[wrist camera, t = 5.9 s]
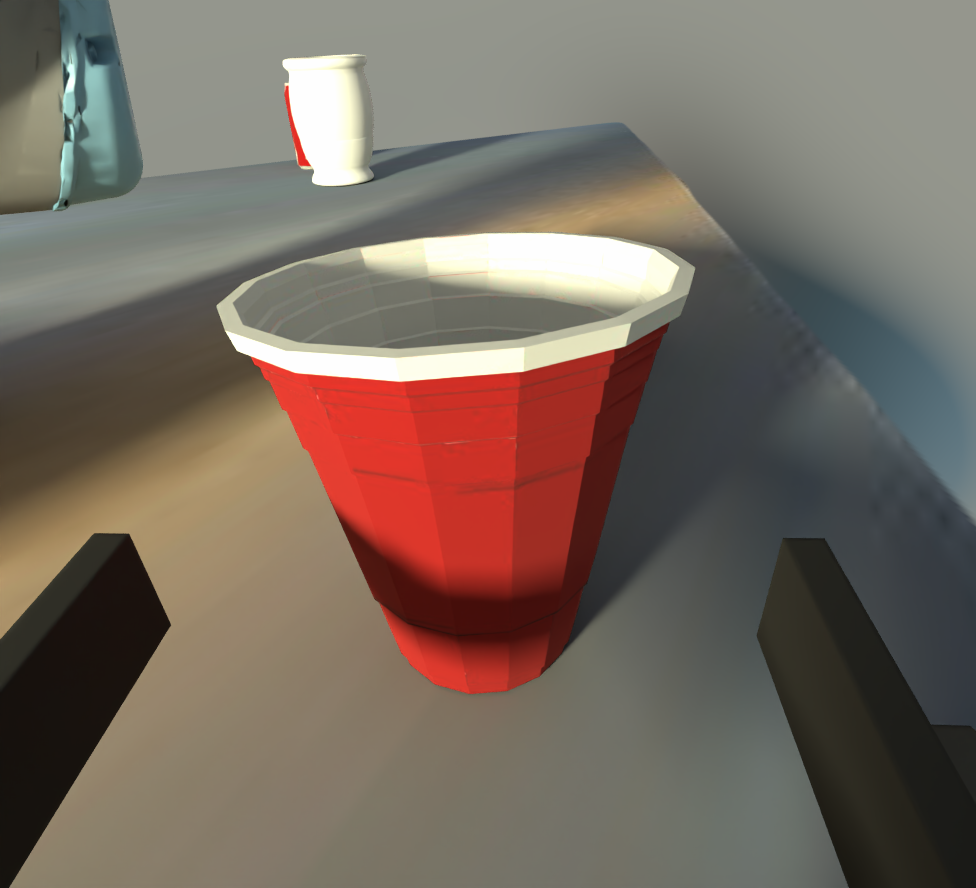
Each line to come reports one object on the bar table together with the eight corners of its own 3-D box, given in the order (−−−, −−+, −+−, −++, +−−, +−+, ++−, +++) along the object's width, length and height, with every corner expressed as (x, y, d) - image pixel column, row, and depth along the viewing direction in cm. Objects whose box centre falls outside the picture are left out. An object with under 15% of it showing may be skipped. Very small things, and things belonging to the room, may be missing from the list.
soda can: (312, 163, 104) (296, 79, 98) (340, 163, 103) (326, 78, 96) (291, 169, 100) (274, 81, 94) (320, 169, 98) (305, 80, 92)
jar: (374, 171, 95) (358, 53, 87) (388, 183, 87) (372, 54, 78) (301, 179, 92) (278, 58, 84) (309, 192, 84) (284, 59, 76)
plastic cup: (576, 492, 27) (586, 190, 20) (716, 714, 18) (815, 303, 11) (313, 544, 25) (231, 228, 18) (323, 824, 16) (170, 401, 9)
